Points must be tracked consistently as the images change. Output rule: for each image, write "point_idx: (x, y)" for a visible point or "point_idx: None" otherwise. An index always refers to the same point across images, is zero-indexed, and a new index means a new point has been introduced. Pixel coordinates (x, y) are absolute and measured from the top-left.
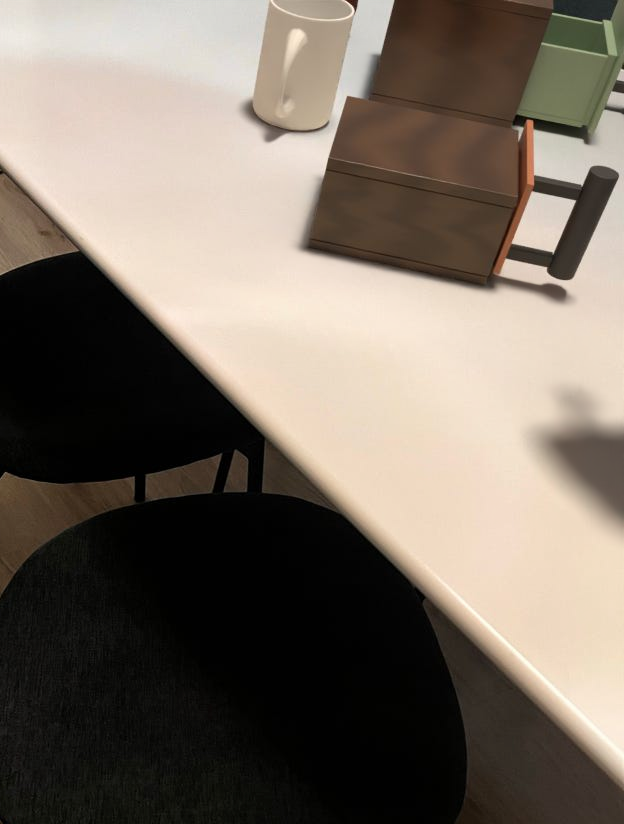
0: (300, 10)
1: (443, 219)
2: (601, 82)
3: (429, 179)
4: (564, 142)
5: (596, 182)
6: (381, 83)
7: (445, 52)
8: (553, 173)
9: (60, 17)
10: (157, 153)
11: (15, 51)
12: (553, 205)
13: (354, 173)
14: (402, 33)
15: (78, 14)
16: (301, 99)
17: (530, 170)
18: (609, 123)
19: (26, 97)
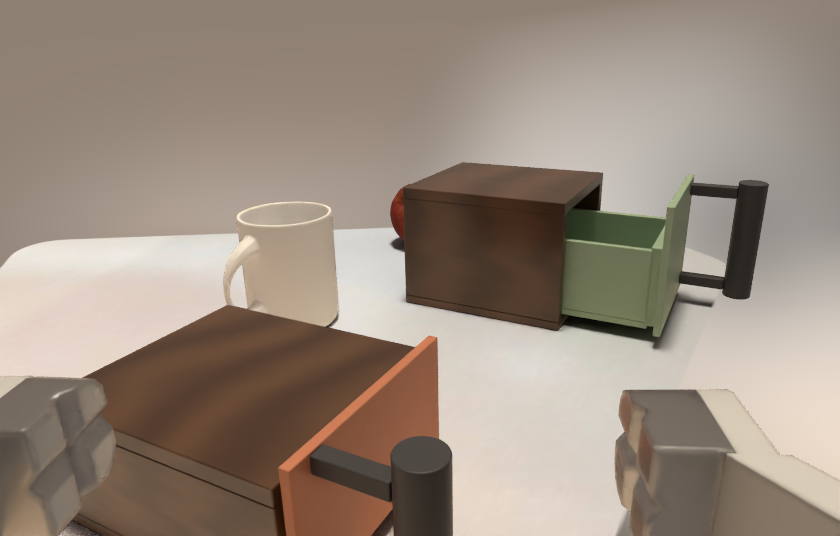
0: (300, 220)
1: (191, 509)
2: (653, 279)
3: (149, 443)
4: (623, 346)
5: (396, 476)
6: (413, 285)
7: (465, 253)
8: (581, 390)
9: (188, 239)
10: (77, 364)
11: (101, 266)
12: (549, 444)
13: None
14: (419, 237)
15: (208, 236)
16: (272, 305)
17: (321, 434)
18: (700, 321)
19: (38, 306)
